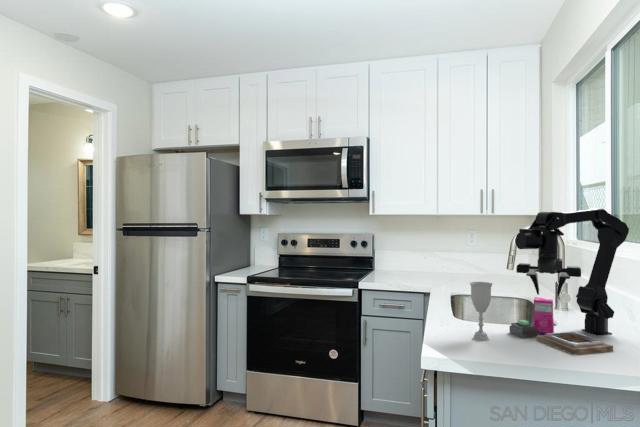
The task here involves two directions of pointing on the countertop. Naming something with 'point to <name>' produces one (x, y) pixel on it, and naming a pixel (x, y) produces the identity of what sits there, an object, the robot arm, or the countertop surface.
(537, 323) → the supplement box
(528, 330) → the control block
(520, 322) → the button
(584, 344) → the wooden picture frame
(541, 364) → the countertop surface
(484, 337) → the chalice
